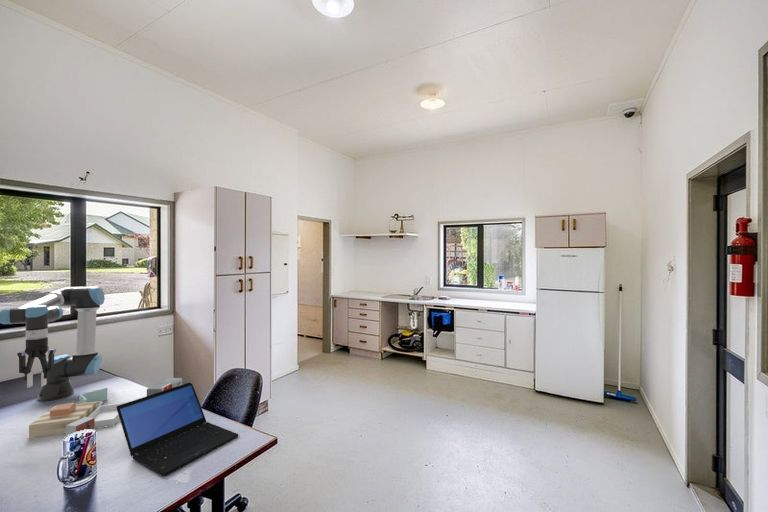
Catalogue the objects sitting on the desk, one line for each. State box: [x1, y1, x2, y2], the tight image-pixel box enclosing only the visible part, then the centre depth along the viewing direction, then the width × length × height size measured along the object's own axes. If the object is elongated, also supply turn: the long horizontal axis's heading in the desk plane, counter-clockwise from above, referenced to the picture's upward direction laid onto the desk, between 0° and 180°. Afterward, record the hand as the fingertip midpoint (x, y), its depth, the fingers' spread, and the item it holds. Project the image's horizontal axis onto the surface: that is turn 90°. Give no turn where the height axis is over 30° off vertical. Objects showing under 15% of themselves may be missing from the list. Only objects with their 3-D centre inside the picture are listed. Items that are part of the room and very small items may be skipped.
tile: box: [49, 402, 77, 417], centre depth 165 cm, size 7×7×3 cm
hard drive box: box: [146, 377, 183, 396], centre depth 166 cm, size 16×8×20 cm, turn 176°
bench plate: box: [28, 401, 98, 439], centre depth 165 cm, size 20×18×6 cm
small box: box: [65, 417, 95, 437], centre depth 147 cm, size 8×6×10 cm
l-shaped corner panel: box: [78, 386, 108, 407], centre depth 186 cm, size 12×12×8 cm
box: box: [88, 401, 129, 429], centre depth 171 cm, size 20×13×4 cm, turn 20°
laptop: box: [117, 382, 239, 476], centre depth 148 cm, size 33×38×19 cm
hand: (36, 385), depth 161 cm, fingers open, 4 cm apart
